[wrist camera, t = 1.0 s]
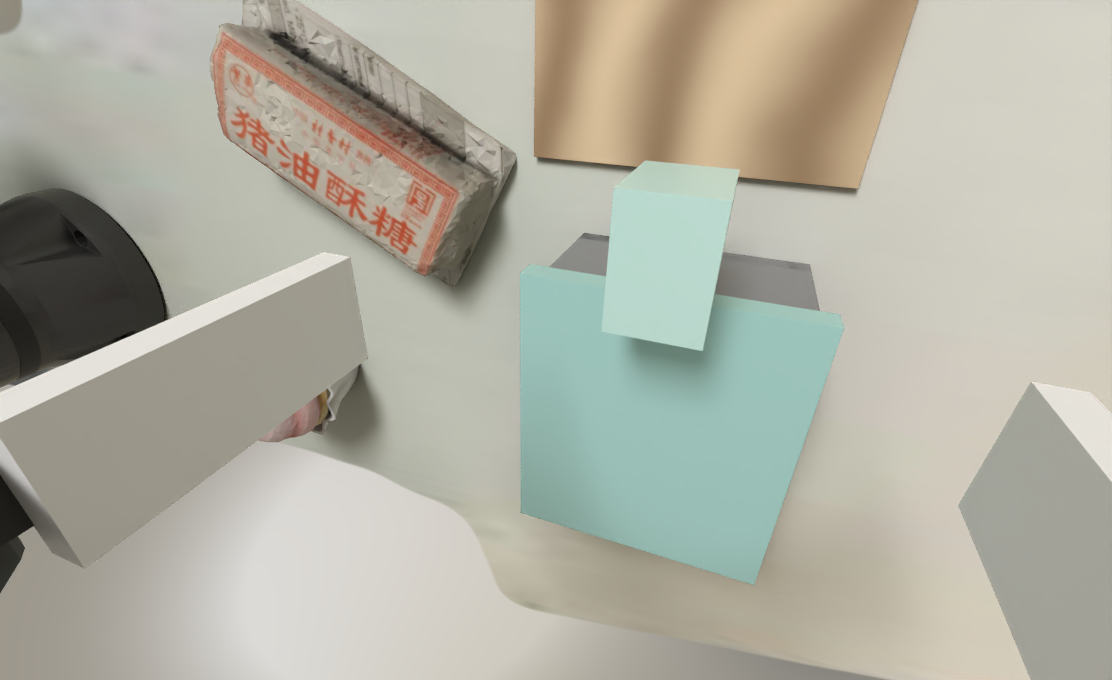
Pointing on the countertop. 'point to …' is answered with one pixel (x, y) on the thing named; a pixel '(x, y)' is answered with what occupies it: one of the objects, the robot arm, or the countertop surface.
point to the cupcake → (314, 412)
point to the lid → (666, 383)
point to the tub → (734, 279)
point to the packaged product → (357, 135)
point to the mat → (717, 83)
